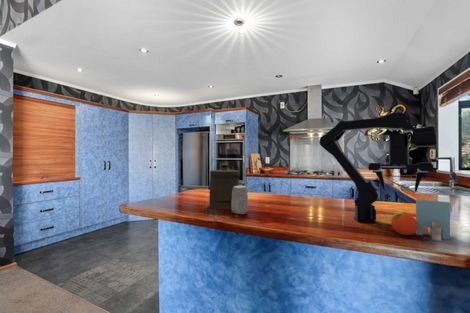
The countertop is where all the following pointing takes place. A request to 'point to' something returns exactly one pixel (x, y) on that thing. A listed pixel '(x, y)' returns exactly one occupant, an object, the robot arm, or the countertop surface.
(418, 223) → the teal slotted plate
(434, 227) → the birch slotted plate
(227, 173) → the wooden container
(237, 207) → the carving
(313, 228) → the countertop surface
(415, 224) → the clementine
